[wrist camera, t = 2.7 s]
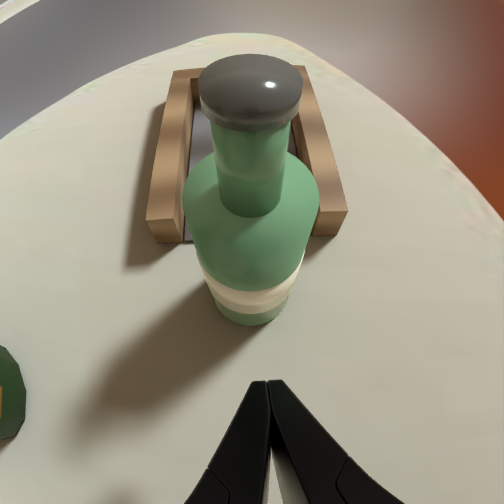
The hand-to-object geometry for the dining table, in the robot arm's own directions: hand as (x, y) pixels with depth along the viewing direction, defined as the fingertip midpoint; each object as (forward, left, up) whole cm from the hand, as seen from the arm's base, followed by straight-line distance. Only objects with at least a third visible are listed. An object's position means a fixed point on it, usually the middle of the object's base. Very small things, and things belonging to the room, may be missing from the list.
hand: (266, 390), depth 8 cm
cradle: (+7, +20, -12) cm, 24 cm away
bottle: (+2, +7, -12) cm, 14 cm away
